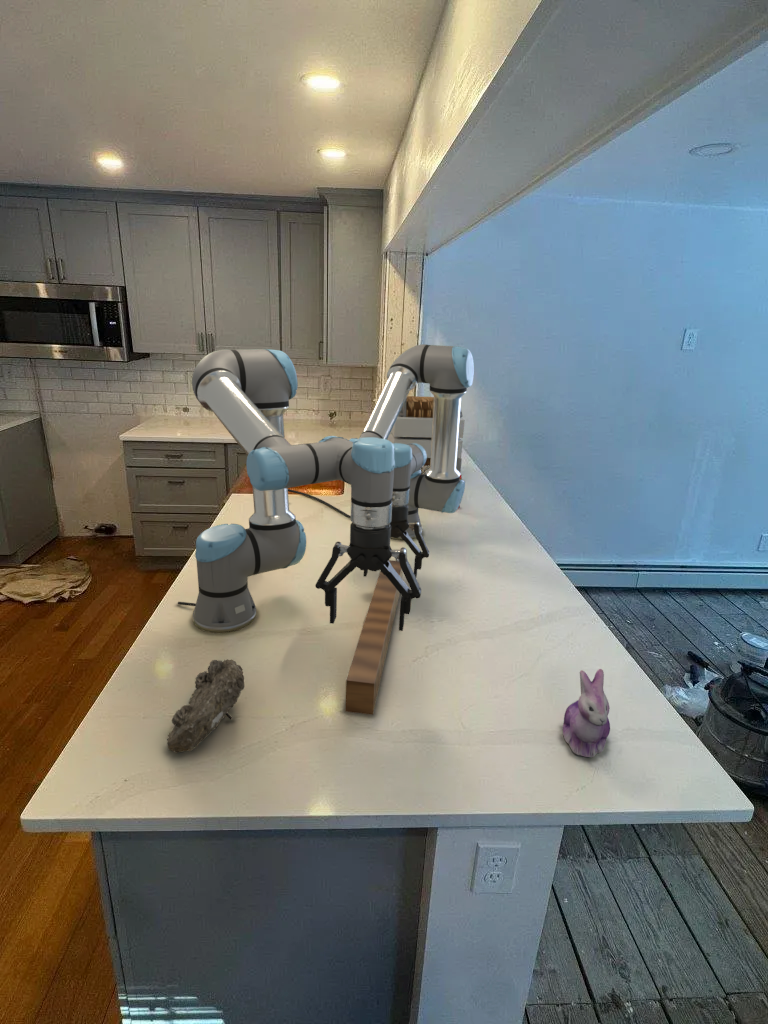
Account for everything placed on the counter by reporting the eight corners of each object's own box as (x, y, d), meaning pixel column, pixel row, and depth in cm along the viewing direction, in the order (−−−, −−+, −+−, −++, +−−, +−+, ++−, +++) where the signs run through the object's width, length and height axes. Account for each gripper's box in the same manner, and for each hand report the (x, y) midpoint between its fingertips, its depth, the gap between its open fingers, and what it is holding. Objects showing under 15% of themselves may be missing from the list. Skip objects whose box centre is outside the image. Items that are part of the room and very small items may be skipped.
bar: (382, 582, 164) (383, 559, 161) (401, 584, 163) (403, 561, 161) (345, 711, 111) (346, 680, 109) (372, 715, 111) (374, 683, 108)
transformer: (382, 463, 289) (386, 382, 275) (445, 464, 293) (451, 384, 279) (390, 482, 257) (394, 392, 243) (460, 483, 261) (468, 394, 247)
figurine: (588, 767, 100) (602, 697, 95) (547, 730, 108) (559, 664, 103) (625, 751, 104) (641, 683, 99) (583, 716, 112) (596, 652, 107)
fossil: (192, 660, 117) (244, 628, 112) (224, 691, 120) (276, 661, 115) (142, 746, 98) (202, 712, 93) (182, 779, 101) (242, 748, 96)
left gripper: (299, 524, 102) (300, 626, 109) (437, 536, 99) (429, 640, 107) (309, 510, 109) (309, 607, 116) (439, 521, 106) (431, 620, 114)
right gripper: (344, 503, 146) (342, 578, 153) (441, 512, 144) (435, 587, 150) (350, 495, 153) (347, 566, 160) (442, 503, 151) (436, 575, 157)
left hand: (367, 623), depth 112 cm, fingers open, 13 cm apart
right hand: (390, 577), depth 155 cm, fingers open, 13 cm apart
